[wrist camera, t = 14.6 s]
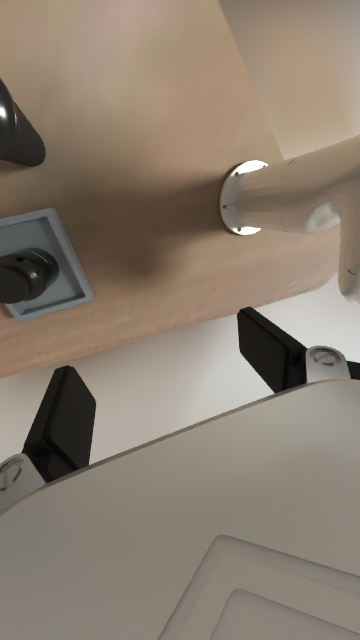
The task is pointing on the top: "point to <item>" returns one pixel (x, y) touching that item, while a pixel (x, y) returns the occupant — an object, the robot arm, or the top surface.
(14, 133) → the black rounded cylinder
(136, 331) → the top surface
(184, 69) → the top surface
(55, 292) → the tray
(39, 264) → the supplement bottle
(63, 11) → the top surface
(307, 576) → the robot arm
